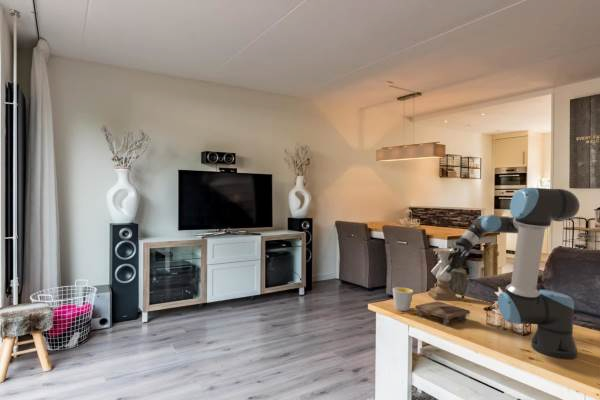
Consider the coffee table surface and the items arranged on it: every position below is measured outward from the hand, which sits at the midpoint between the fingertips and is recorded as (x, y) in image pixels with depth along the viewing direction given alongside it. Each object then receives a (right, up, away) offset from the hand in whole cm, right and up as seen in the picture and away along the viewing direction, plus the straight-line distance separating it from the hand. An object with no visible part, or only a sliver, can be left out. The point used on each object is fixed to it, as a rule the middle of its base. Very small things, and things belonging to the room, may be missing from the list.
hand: (437, 274), depth 184 cm
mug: (-12, -21, +14) cm, 28 cm away
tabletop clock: (+24, -22, +39) cm, 51 cm away
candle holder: (+3, -12, +1) cm, 12 cm away
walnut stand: (+3, -22, +1) cm, 22 cm away
